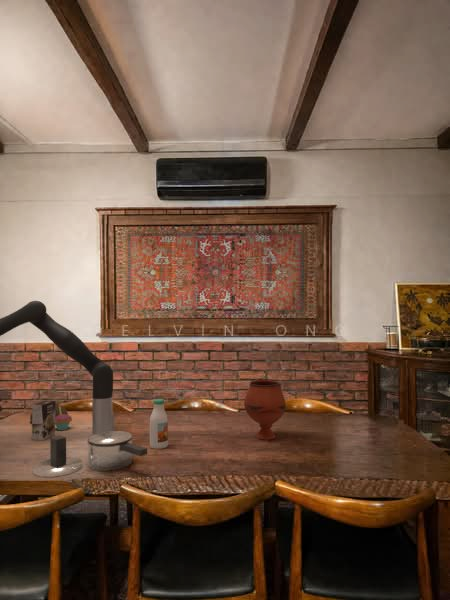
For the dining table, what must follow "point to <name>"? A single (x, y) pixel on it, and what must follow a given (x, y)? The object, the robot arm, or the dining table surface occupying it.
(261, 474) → the dining table surface
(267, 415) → the goblet
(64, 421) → the cupcake
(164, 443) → the milk bottle
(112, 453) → the cooker pot
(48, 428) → the coffee box
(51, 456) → the cooker lid
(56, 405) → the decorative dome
